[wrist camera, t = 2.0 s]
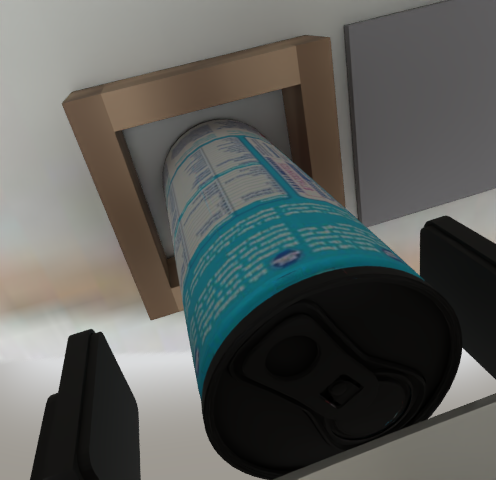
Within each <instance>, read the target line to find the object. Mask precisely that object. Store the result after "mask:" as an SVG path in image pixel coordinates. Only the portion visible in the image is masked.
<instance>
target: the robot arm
mask: <svg viewBox="0 0 496 480" xmlns="http://www.w3.org/2000/svg"><path fill="white" fill-rule="evenodd" d="M420 277H422V278H423V279H424V281H425V282H427V283H428V284H430V285H431V286H432V287H433V288H434V289H435V290H436V291H438V292H439V293H440V294H441V295H442V296H443V297H444V298H445V299H446V300H447V301H448V303H449V304H450V305H451V307H452V308H453V309H454V311H455V313H456V315H457V318H458V320H459V323H460V327H461V332H462V348H463V349H465V350H466V352H468V353H469V354H470V355H471V356H472V357H473V358H474V359H475V360H476V361H477V362H478V363H479V364H480V365H481V366H482V367H483V368H485V370H486V371H488V373H490V374H491V375H492V376H493V377H494V378H495V379H496V244H495V243H493V242H491V241H490V240H488V239H486V238H485V237H483V236H481V235H479V234H478V233H476V232H474V231H473V230H471V229H469V228H468V227H466V226H464V225H463V224H461V223H459V222H457V221H456V220H454V219H452V218H451V217H449V216H442V217H439V218H436V219H433V220H430V221H427V222H426V223H425V225H424V228H422V229H421V231H420ZM30 480H141V479H140V449H139V418H138V407H137V403H136V400H135V398H134V396H133V394H132V392H131V390H130V387H129V385H128V384H127V381H126V380H125V378H124V375H123V373H122V372H121V369H120V367H119V365H118V363H117V361H116V359H115V357H114V355H113V353H112V351H111V349H110V347H109V345H108V343H107V341H106V339H105V337H104V335H103V333H102V332H98V333H95V332H94V331H93V330H92V329H89V330H86V331H83V332H80V333H77V334H74V335H70V336H69V338H68V342H67V348H66V353H65V359H64V364H63V370H62V376H61V380H60V386H59V391H58V393H56V394H53V395H51V396H50V397H49V398H48V400H47V403H46V407H45V412H44V416H43V421H42V426H41V431H40V435H39V440H38V445H37V450H36V454H35V459H34V464H33V469H32V473H31V478H30ZM273 480H496V393H495V394H493V395H490V396H488V397H485V398H482V399H480V400H477V401H474V402H472V403H469V404H467V405H464V406H461V407H459V408H456V409H453V410H451V411H449V412H445V413H443V414H440V415H438V416H435V417H433V418H430V419H427V420H425V421H422V422H419V423H417V424H414V425H412V426H409V427H406V428H404V429H401V430H399V431H396V432H394V433H391V434H388V435H386V436H383V437H381V438H378V439H375V440H373V441H370V442H368V443H365V444H363V445H360V446H357V447H355V448H352V449H350V450H347V451H345V452H342V453H339V454H337V455H334V456H332V457H329V458H326V459H324V460H321V461H319V462H316V463H314V464H311V465H309V466H306V467H304V468H301V469H299V470H296V471H293V472H291V473H288V474H286V475H283V476H281V477H278V478H276V479H273Z"/></svg>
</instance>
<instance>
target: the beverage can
mask: <svg viewBox="0 0 496 480" xmlns="http://www.w3.org/2000/svg"><path fill="white" fill-rule="evenodd" d="M163 189H164V193H165V199H166V205H167V212H168V218H169V224H170V230H171V236H172V242H173V248H174V254H175V260H176V266H177V272H178V278H179V284H180V290H181V295H182V301H183V307H184V313H185V318H186V324H187V330H188V336H189V341H190V346H191V352H192V357H193V362H194V368H195V373H196V378H197V384H198V389H199V394H200V398H201V403H202V414H203V420H204V424H205V430H206V433H207V436H208V438H209V441H210V442H211V444H212V446H213V448H214V449H215V450H216V452H217V453H218V454H219V455H220V456H221V457H222V458H223V459H224V460H225V461H226V462H227V463H229V464H230V465H231V466H232V467H234V468H236V469H238V470H240V471H242V472H244V473H246V474H249V475H252V476H254V477H259V478H262V479H267V480H273V479H276V478H278V477H281V476H283V475H286V474H288V473H291V472H293V471H296V470H299V469H301V468H304V467H306V466H309V465H311V464H314V463H316V462H319V461H321V460H324V459H326V458H329V457H332V456H334V455H337V454H339V453H342V452H345V451H347V450H350V449H352V448H355V447H357V446H360V445H363V444H365V443H368V442H370V441H373V440H375V439H378V438H381V437H383V436H386V435H388V434H391V433H394V432H396V431H399V430H401V429H404V428H406V427H409V426H412V425H414V424H417V423H419V422H422V421H425V420H427V419H428V418H429V417H430V416H431V415H432V414H433V412H434V411H435V410H436V409H437V407H438V406H439V405H440V404H441V402H442V400H443V398H444V397H445V395H446V393H447V392H448V391H449V389H450V387H451V385H452V382H453V380H454V378H455V375H456V373H457V370H458V367H459V364H460V359H461V354H462V332H461V327H460V323H459V320H458V318H457V315H456V313H455V311H454V309H453V308H452V307H451V305H450V304H449V303H448V301H447V300H446V299H445V298H444V297H443V296H442V295H441V294H440V293H439V292H438V291H436V290H435V289H434V288H433V287H432V286H431V285H430V284H428V283H427V282H425V281H424V279H423V278H422V277H420V276H419V275H418V274H417V273H416V272H415V271H414V270H413V269H412V268H411V267H410V266H408V265H407V264H406V263H405V262H404V261H403V260H402V259H401V258H400V257H399V256H398V255H396V254H395V253H394V252H393V251H392V250H391V249H390V248H389V247H388V246H387V245H385V244H384V243H383V242H382V241H381V240H380V239H379V238H378V237H377V236H376V235H374V234H373V233H372V232H371V231H370V230H369V229H368V228H367V227H365V226H364V225H363V224H362V223H361V222H360V221H359V220H358V219H357V218H355V217H354V216H353V215H352V214H351V213H350V212H349V211H348V210H346V209H345V208H344V207H343V206H342V205H341V204H340V203H339V202H338V201H336V200H335V199H334V198H333V197H332V196H331V195H330V194H329V193H327V192H326V191H325V190H324V189H323V188H322V187H321V186H319V185H318V184H317V183H316V182H315V181H314V180H313V179H311V178H310V177H309V176H308V175H307V174H306V173H305V172H304V171H302V170H301V169H300V168H299V167H298V166H297V165H296V164H294V163H293V162H292V161H291V160H290V159H289V158H288V157H286V156H285V155H284V154H283V153H282V152H281V151H280V150H278V149H277V148H276V147H275V146H274V145H273V144H272V143H270V142H269V141H268V140H267V139H266V138H265V137H264V136H263V135H262V134H261V133H259V132H258V131H257V130H256V129H254V128H253V127H251V126H249V125H247V124H244V123H242V122H238V121H234V120H213V121H208V122H204V123H202V124H199V125H197V126H195V127H193V128H191V129H190V130H189V131H187V132H186V133H185V134H183V135H182V136H181V137H180V138H179V139H178V140H177V142H176V143H175V144H174V145H173V147H172V148H171V150H170V152H169V154H168V156H167V158H166V160H165V165H164V169H163Z"/></svg>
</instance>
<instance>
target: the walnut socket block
mask: <svg viewBox="0 0 496 480" xmlns="http://www.w3.org/2000/svg"><path fill="white" fill-rule="evenodd" d="M279 89H282V95H283V101H284V108H285V114H286V121H287V128H288V134H289V141H290V147H291V154H292V161H293V163H294V164H296V165H297V166H298V167H299V168H300V169H301V170H302V171H304V172H305V173H306V174H307V175H308V176H309V177H310V178H311V179H313V180H314V181H315V182H316V183H317V184H318V185H319V186H321V187H322V188H323V189H324V190H325V191H326V192H327V193H329V194H330V195H331V196H332V197H333V198H334V199H335V200H336V201H338V202H339V203H340V204H341V205H342V206H343V207H344V208H345V209H346V207H345V196H344V185H343V174H342V163H341V152H340V141H339V129H338V118H337V107H336V96H335V85H334V74H333V63H332V52H331V41H330V37H320V36H308V35H303V36H299V37H295V38H291V39H287V40H283V41H279V42H275V43H271V44H267V45H263V46H258V47H254V48H250V49H246V50H242V51H238V52H234V53H230V54H226V55H222V56H218V57H213V58H209V59H205V60H201V61H197V62H193V63H189V64H185V65H181V66H177V67H172V68H168V69H164V70H160V71H156V72H152V73H148V74H144V75H140V76H136V77H132V78H127V79H123V80H119V81H115V82H111V83H107V84H103V85H99V86H95V87H91V88H86V89H82V90H78V91H74V92H72V93H71V94H70V95H69V96H68V97H67V98H66V99H65V100H64V102H63V103H62V105H63V108H64V110H65V113H66V115H67V118H68V120H69V122H70V125H71V127H72V130H73V132H74V135H75V137H76V140H77V142H78V144H79V147H80V149H81V152H82V154H83V157H84V159H85V161H86V164H87V166H88V169H89V171H90V174H91V176H92V179H93V181H94V183H95V186H96V188H97V191H98V193H99V196H100V198H101V200H102V203H103V205H104V208H105V210H106V213H107V215H108V218H109V220H110V222H111V225H112V227H113V230H114V232H115V235H116V237H117V239H118V242H119V244H120V247H121V249H122V252H123V254H124V257H125V259H126V261H127V264H128V266H129V269H130V271H131V274H132V276H133V278H134V281H135V283H136V286H137V288H138V291H139V293H140V295H141V298H142V300H143V303H144V305H145V308H146V310H147V313H148V315H149V317H150V320H154V319H157V318H160V317H163V316H167V315H170V314H173V313H176V312H180V311H183V310H184V307H183V301H182V295H181V290H180V284H179V278H178V272H177V266H176V260H175V257H172V258H169V259H167V258H166V255H165V252H164V249H163V246H162V244H161V241H160V238H159V235H158V232H157V229H156V226H155V224H154V221H153V218H152V215H151V212H150V209H149V207H148V204H147V201H146V198H145V195H144V192H143V189H142V187H141V184H140V181H139V178H138V175H137V172H136V170H135V167H134V164H133V161H132V158H131V155H130V152H129V150H128V147H127V144H126V141H125V138H124V135H123V133H122V130H123V129H127V128H131V127H135V126H139V125H143V124H147V123H151V122H155V121H158V120H162V119H166V118H170V117H174V116H178V115H182V114H186V113H189V112H193V111H197V110H201V109H205V108H209V107H213V106H217V105H221V104H224V103H228V102H232V101H236V100H240V99H244V98H248V97H252V96H256V95H259V94H263V93H267V92H271V91H275V90H279Z"/></svg>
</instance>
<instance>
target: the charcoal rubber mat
mask: <svg viewBox="0 0 496 480" xmlns="http://www.w3.org/2000/svg"><path fill="white" fill-rule="evenodd" d="M344 32H345V45H346V59H347V72H348V86H349V99H350V113H351V126H352V140H353V153H354V167H355V180H356V194H357V207H358V220H359V221H360V222H361V223H362V224H363V225H364V226H365V227H369V226H373V225H376V224H379V223H383V222H386V221H389V220H392V219H396V218H399V217H402V216H406V215H409V214H412V213H416V212H419V211H422V210H426V209H429V208H432V207H435V206H439V205H442V204H445V203H449V202H452V201H455V200H459V199H462V198H465V197H468V196H472V195H475V194H478V193H482V192H485V191H488V190H492V189H495V188H496V0H447V1H443V2H439V3H435V4H430V5H426V6H422V7H418V8H414V9H410V10H406V11H402V12H398V13H394V14H389V15H385V16H381V17H377V18H373V19H369V20H365V21H361V22H357V23H353V24H349V25H344Z"/></svg>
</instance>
